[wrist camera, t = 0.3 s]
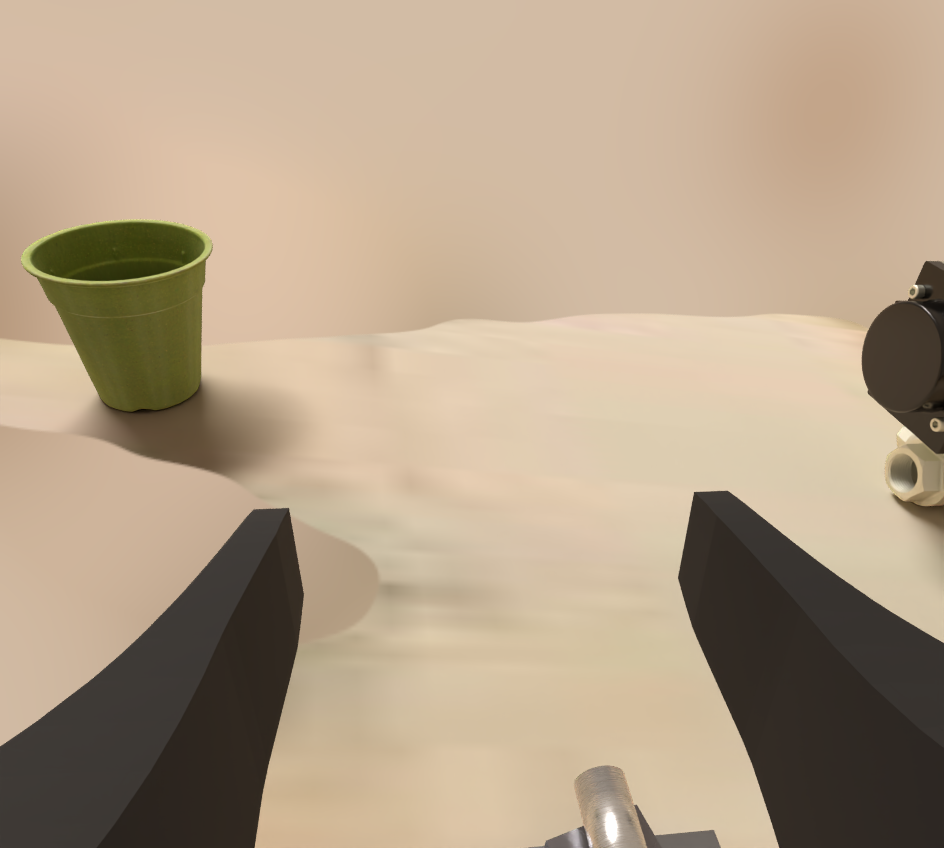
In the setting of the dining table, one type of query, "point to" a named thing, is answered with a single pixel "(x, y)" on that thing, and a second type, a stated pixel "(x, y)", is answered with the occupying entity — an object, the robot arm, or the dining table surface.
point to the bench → (618, 818)
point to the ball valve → (912, 385)
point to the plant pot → (129, 305)
